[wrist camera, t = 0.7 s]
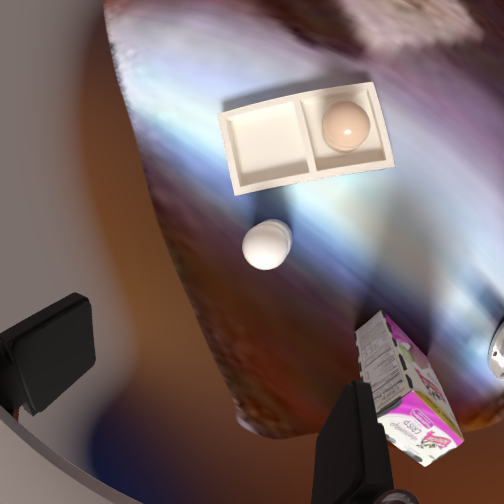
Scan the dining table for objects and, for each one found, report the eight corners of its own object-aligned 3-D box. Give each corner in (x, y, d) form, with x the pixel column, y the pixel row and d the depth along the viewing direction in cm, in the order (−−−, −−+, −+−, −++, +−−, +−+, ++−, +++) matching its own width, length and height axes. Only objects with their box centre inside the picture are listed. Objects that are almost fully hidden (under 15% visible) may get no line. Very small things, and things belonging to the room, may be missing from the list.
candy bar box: (429, 356, 32) (466, 441, 16) (401, 378, 34) (424, 469, 18) (381, 304, 32) (414, 390, 17) (352, 331, 34) (361, 425, 18)
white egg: (288, 215, 33) (279, 222, 26) (296, 254, 34) (289, 271, 27) (250, 222, 34) (232, 231, 28) (258, 260, 35) (242, 278, 28)
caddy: (370, 87, 27) (372, 81, 25) (390, 167, 29) (394, 166, 27) (223, 117, 32) (217, 114, 30) (239, 194, 34) (234, 195, 32)
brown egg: (357, 110, 28) (366, 91, 21) (367, 149, 29) (380, 140, 22) (317, 116, 29) (316, 99, 22) (327, 156, 30) (329, 148, 23)
